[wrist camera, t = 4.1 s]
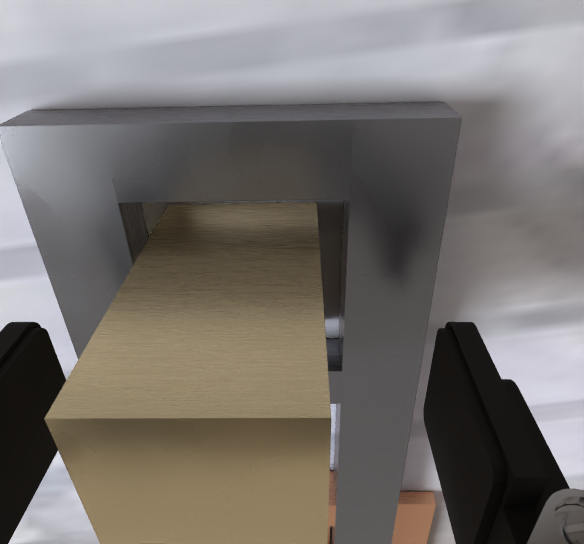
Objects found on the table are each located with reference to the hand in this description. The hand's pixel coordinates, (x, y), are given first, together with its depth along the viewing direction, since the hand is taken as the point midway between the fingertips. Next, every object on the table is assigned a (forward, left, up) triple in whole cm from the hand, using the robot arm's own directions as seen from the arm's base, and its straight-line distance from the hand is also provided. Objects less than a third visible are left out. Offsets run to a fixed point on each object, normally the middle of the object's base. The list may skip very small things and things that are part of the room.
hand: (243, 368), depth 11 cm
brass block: (0, 0, -4) cm, 4 cm away
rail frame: (+7, 0, -4) cm, 9 cm away
